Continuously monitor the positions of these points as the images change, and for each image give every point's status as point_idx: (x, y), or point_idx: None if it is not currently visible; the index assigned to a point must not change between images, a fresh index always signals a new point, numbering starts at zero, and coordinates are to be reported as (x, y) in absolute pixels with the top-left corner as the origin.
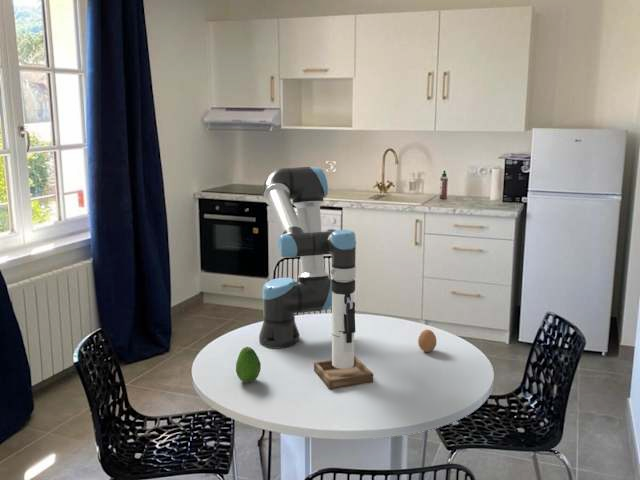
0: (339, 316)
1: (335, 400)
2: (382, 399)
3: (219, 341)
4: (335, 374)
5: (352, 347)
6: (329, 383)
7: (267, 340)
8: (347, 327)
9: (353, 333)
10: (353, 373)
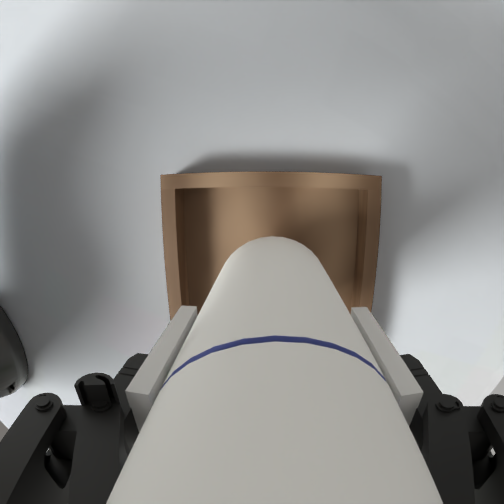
0: None
1: (420, 350)
2: (477, 211)
3: None
4: None
5: (340, 297)
6: None
7: (13, 391)
8: (480, 483)
9: (360, 340)
10: (280, 228)
